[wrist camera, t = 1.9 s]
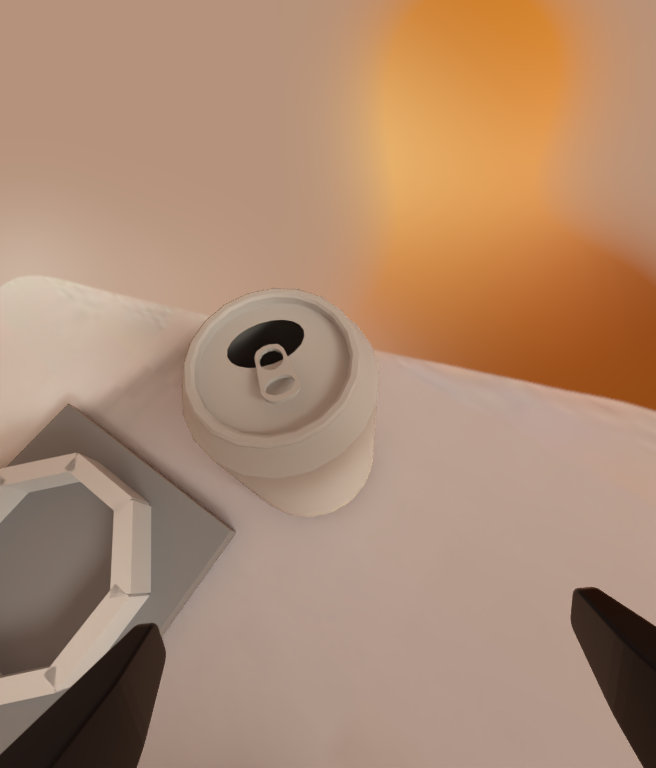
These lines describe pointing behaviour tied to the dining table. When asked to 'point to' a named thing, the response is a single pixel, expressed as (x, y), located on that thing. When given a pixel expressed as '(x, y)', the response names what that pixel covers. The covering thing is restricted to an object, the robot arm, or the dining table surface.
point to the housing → (87, 559)
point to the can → (284, 398)
